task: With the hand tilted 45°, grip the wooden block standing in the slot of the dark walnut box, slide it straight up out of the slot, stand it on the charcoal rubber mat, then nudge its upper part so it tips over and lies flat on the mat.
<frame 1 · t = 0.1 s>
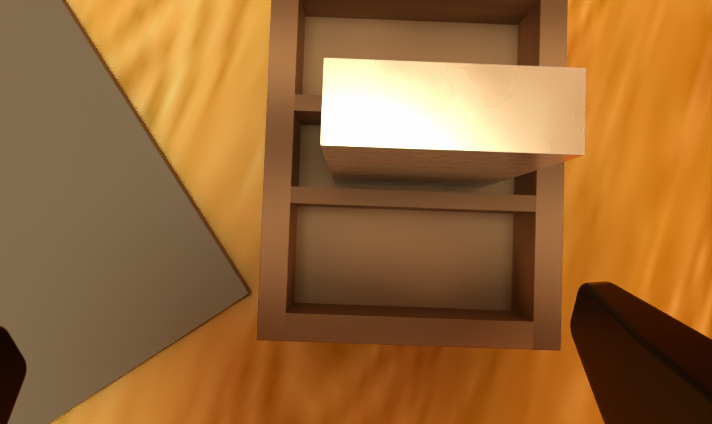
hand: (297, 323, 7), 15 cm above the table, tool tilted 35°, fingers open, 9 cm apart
slot box: (400, 169, 22), on the table
wooden block: (407, 162, 20), point 3 cm above the table, touching slot box
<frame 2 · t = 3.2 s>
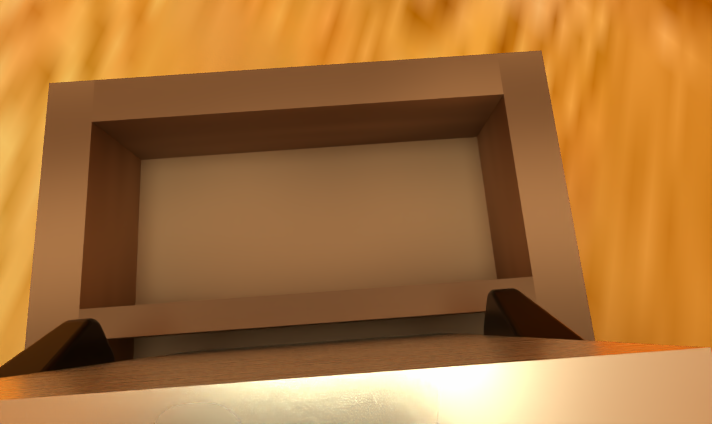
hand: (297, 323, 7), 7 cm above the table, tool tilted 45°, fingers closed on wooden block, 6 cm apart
slot box: (328, 374, 14), on the table
wooden block: (321, 385, 11), point 3 cm above the table, touching gripper, slot box
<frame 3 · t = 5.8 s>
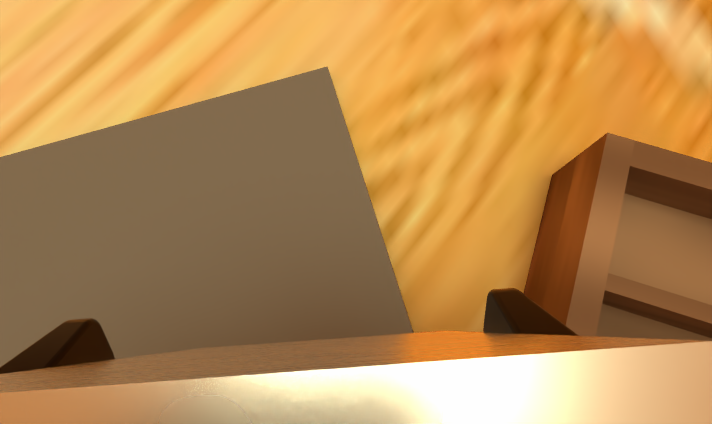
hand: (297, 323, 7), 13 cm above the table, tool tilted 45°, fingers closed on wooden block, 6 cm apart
slot box: (643, 363, 20), on the table
wooden block: (322, 383, 11), point 9 cm above the table, touching gripper
rubber mat: (188, 305, 21), on the table
when the fingers open (6 cm above the table, at t = 8.4 s): wooden block drops 2 cm, resting on rubber mat.
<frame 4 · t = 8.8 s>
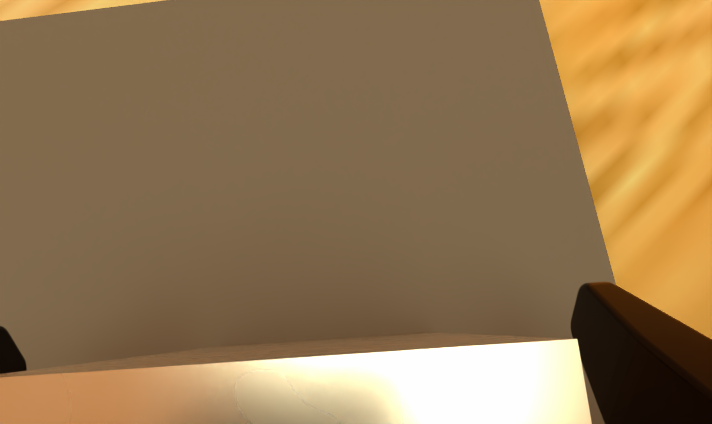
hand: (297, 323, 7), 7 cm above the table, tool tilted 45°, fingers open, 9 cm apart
wooden block: (327, 377, 13), point 1 cm above the table, touching rubber mat
rubber mat: (296, 253, 14), on the table
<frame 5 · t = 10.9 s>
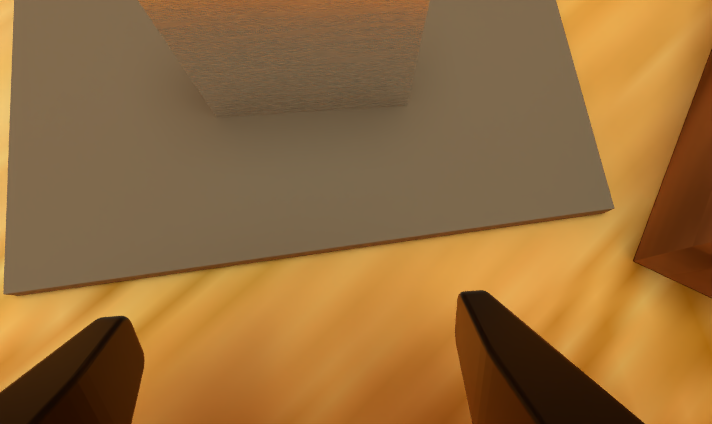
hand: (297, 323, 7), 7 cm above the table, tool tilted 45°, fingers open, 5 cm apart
wooden block: (310, 82, 15), point 1 cm above the table, touching rubber mat
rubber mat: (285, 1, 17), on the table
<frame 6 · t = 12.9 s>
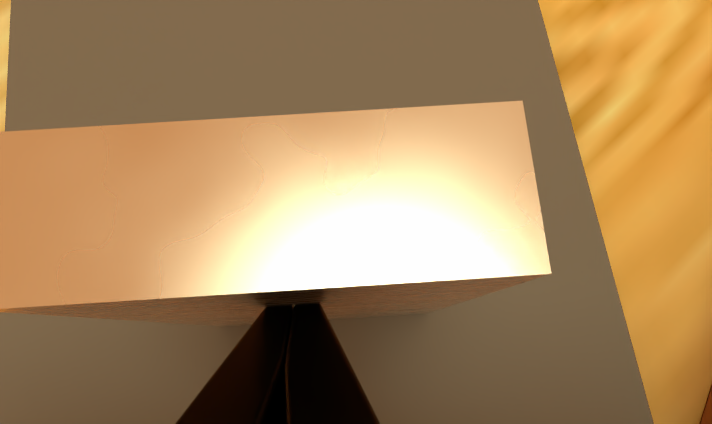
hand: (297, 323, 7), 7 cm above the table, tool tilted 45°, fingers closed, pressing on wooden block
wooden block: (323, 284, 14), point 1 cm above the table, touching gripper, rubber mat
rubber mat: (295, 178, 15), on the table
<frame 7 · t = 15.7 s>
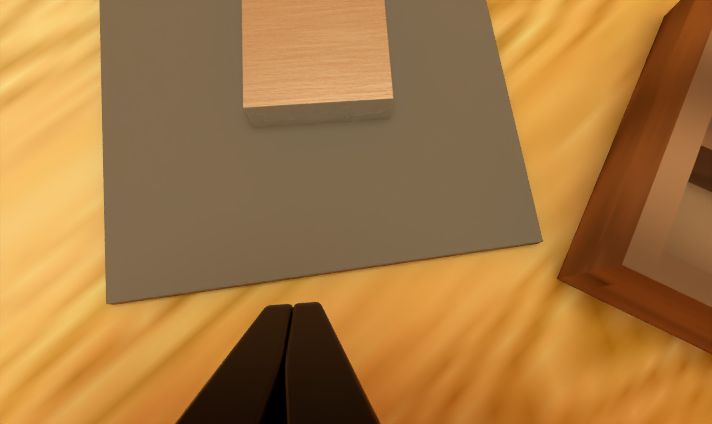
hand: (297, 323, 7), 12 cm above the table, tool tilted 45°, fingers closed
wooden block: (320, 113, 20), point 2 cm above the table, tilted 90°, touching rubber mat
rubber mat: (303, 81, 22), on the table
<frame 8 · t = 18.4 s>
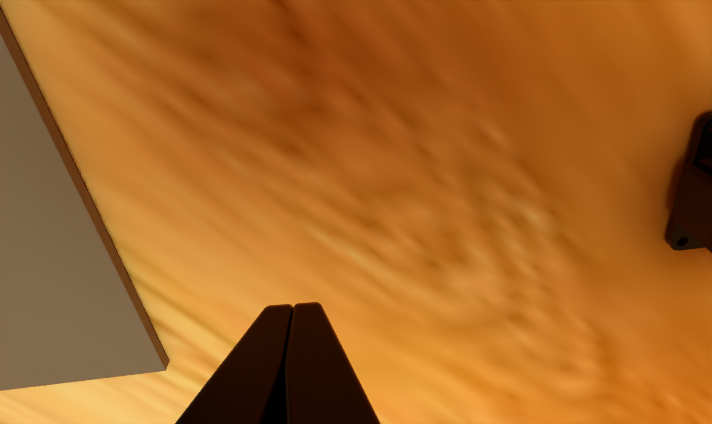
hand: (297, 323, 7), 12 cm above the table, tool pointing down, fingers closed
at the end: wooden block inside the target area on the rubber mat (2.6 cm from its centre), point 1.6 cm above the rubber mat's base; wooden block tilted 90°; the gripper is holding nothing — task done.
